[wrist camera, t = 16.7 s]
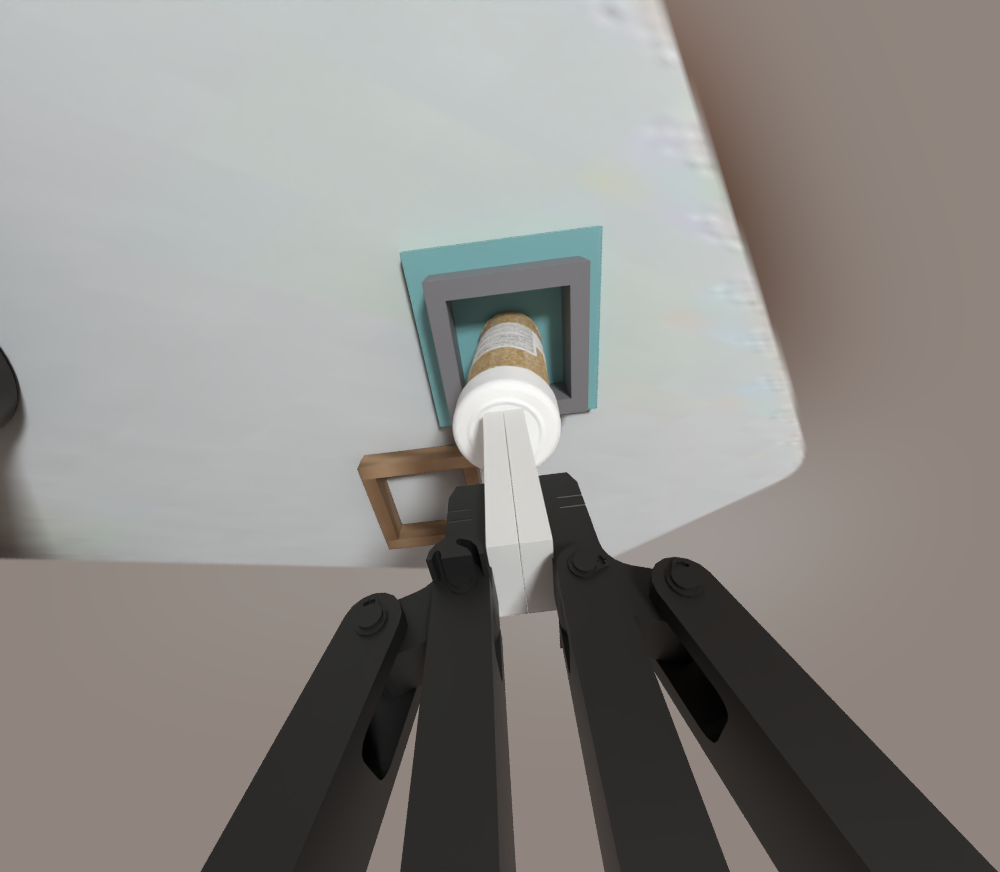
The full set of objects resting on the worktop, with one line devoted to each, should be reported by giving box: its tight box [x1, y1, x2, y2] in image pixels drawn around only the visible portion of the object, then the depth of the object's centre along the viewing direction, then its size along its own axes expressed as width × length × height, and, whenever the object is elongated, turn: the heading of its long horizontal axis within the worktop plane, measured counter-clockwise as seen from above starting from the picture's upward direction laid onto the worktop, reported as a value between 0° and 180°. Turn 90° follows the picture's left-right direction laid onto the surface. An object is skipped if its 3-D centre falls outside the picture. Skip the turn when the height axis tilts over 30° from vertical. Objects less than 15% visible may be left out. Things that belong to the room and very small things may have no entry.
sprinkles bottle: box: [452, 311, 561, 473], centre depth 20 cm, size 5×5×14 cm
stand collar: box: [357, 445, 482, 550], centre depth 34 cm, size 10×10×2 cm
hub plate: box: [400, 226, 603, 427], centre depth 26 cm, size 13×13×4 cm
